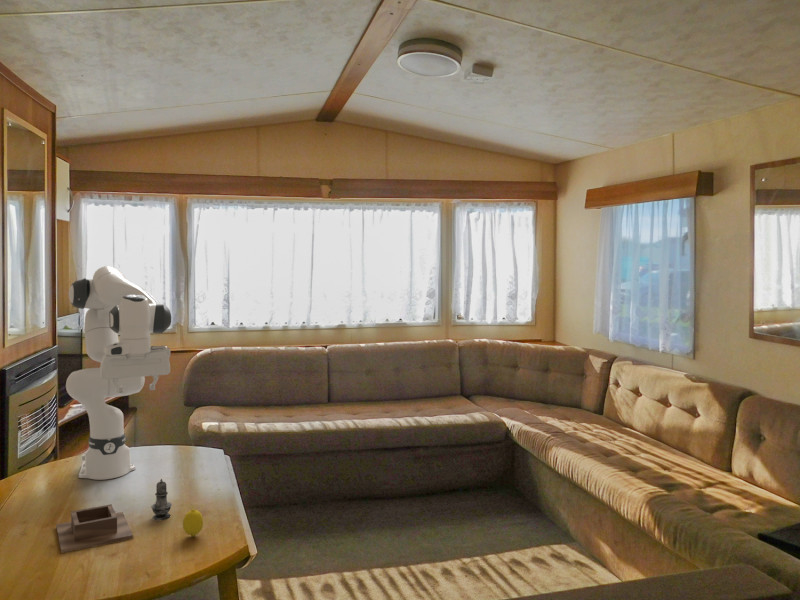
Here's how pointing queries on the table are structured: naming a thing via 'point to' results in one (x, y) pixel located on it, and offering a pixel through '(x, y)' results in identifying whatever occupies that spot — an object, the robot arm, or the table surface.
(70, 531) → the caddy
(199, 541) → the table surface
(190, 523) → the lemon
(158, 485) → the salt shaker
